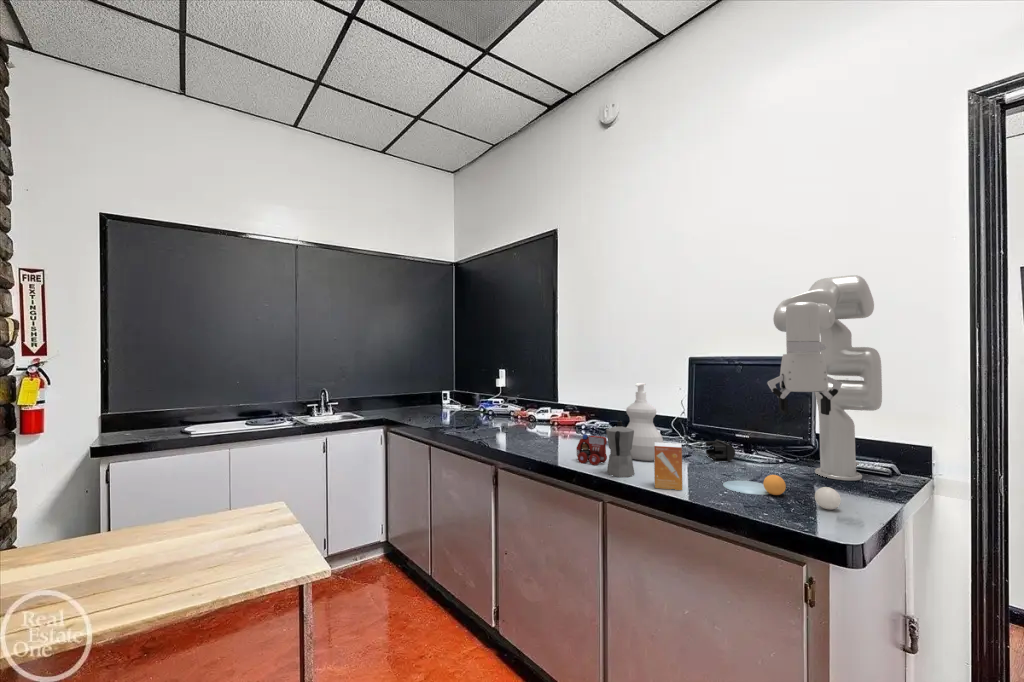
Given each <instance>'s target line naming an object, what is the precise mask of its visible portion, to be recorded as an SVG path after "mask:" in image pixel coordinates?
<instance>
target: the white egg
mask: <svg viewBox="0 0 1024 682" xmlns="http://www.w3.org/2000/svg"><path fill="white" fill-rule="evenodd" d="M814 499H815V502H816V503H817V505H818V506H819V507H821V508H822V509H824V510H830V511H831V510H836V509H837V508H838V507H840V505H841V503H842V502H841V501H842V500H841V495H840V493H839V492H838V491H837V490H836V489H834V488H832V487H828V486H823V487H820V488H818V489H816V491H815V492H814Z"/></svg>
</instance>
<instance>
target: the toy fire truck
mask: <svg viewBox="0 0 1024 682" xmlns="http://www.w3.org/2000/svg"><path fill="white" fill-rule="evenodd" d="M607 445H608V438H607V437H605V436H597V435H588V434H585V433H584V434H583V435H582V438H580V440H579V441H578V443H577V446H576V456H577V460H578V462H579V463H580V462H581V464H586V463H587V462H588V461H589V463H590V465H592V466H597V465H599V464H600V463H601V462H603V463H605V462H607V459H608V455H607V448H606V446H607Z"/></svg>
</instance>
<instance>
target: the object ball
mask: <svg viewBox="0 0 1024 682" xmlns="http://www.w3.org/2000/svg"><path fill="white" fill-rule="evenodd" d="M762 484H763V485H764V488H765V490H766V491H767V492H768V493H770V494H769V495H773V496H780V495H782V494H783V493H784V492H785V491H786V487H787V485H786V482H785V479H783V478H782V477H781V476H779V475H776V474H769V475H767V476H765V478H764V480H763V483H762Z"/></svg>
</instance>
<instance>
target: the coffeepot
mask: <svg viewBox="0 0 1024 682" xmlns="http://www.w3.org/2000/svg"><path fill="white" fill-rule="evenodd" d="M626 427H627V426H623V421H622V420H618V421H617V426H613V427H609V428H606V429H605V433H606V439H607V445H608V449H609V451H610V452H609V453H610V454H609V455H608V462H607V469H606V473H607V475H608V476H610V475H613V476H612V477H614V476H618V477H617V478H629V477H630V476H631V477H633V476H634V475H635V468H634V463H633V459H632V457H631V455H630V450H631V449H632V443H633V435H634V430H632V429H630V428H626ZM632 475H633V476H632Z"/></svg>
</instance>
